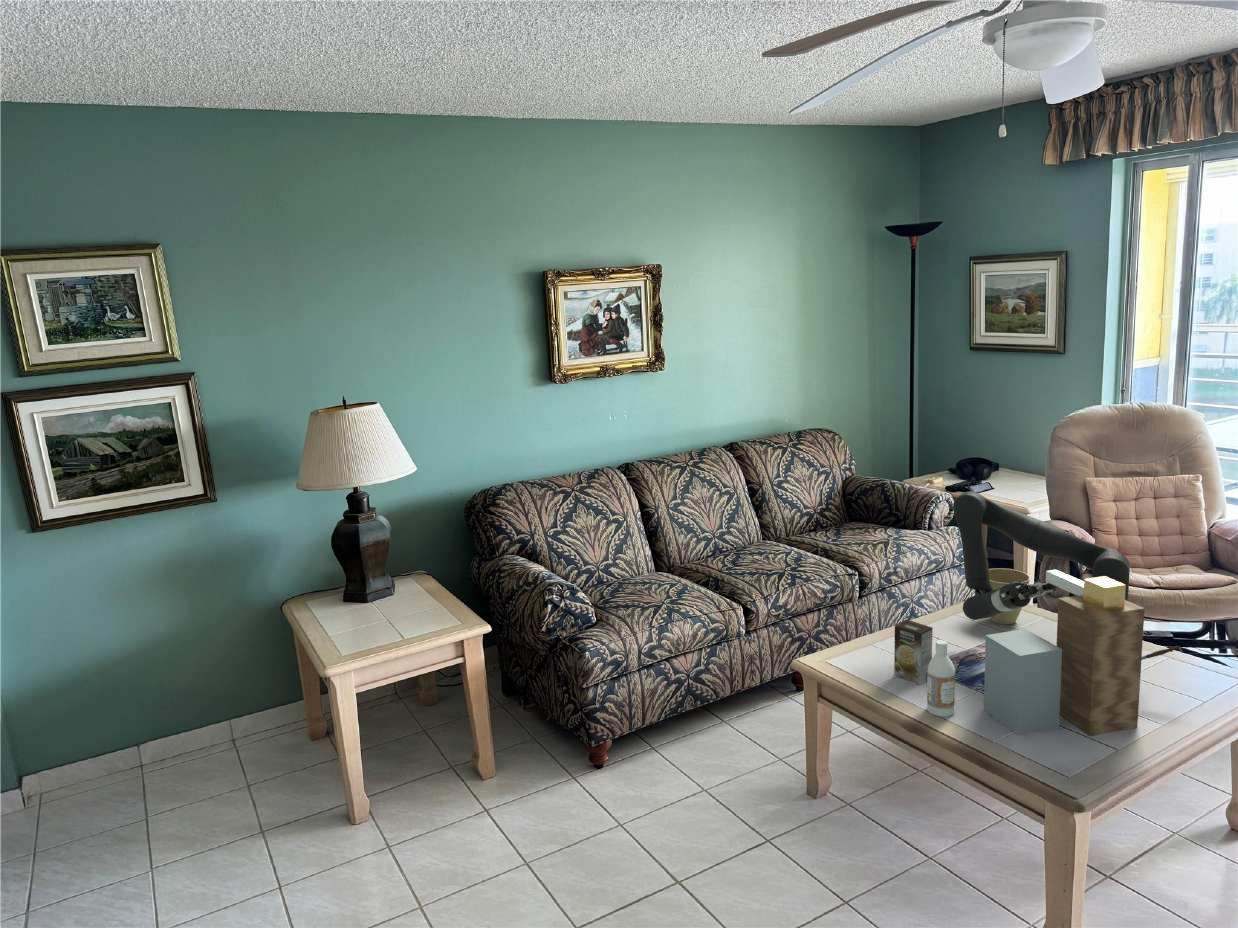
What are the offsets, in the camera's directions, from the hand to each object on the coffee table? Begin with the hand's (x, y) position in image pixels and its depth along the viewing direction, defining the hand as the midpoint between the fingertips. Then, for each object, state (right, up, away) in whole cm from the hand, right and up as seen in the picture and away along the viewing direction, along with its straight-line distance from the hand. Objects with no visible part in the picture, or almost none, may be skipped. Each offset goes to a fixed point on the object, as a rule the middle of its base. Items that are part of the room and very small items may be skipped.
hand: (1043, 585), depth 242 cm
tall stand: (+6, -33, -15) cm, 36 cm away
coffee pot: (+23, -30, -3) cm, 38 cm away
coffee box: (-31, -29, +16) cm, 45 cm away
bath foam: (-30, -34, -5) cm, 45 cm away
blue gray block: (-12, -33, -12) cm, 37 cm away
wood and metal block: (+3, 0, -14) cm, 14 cm away
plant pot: (+12, -19, +52) cm, 57 cm away
